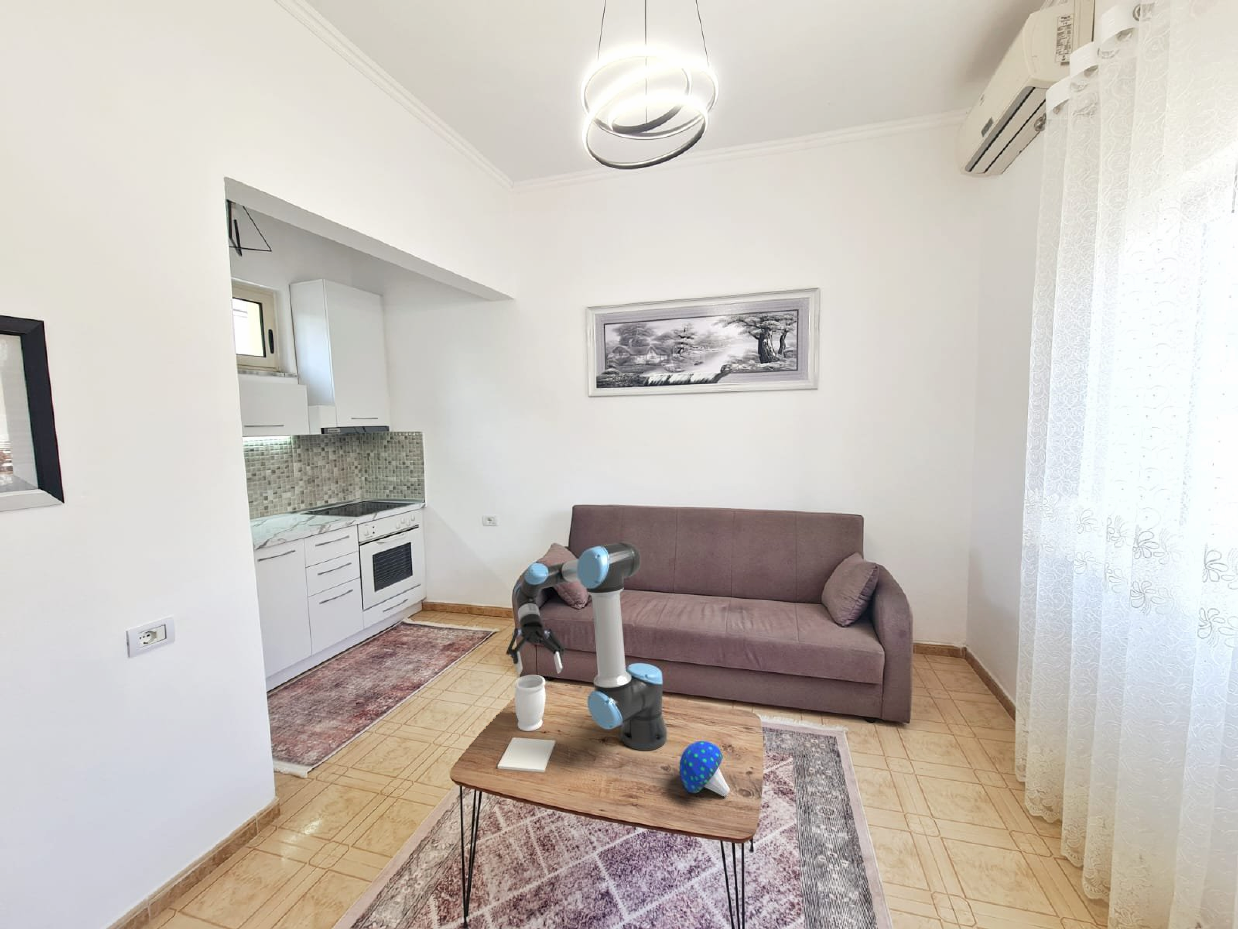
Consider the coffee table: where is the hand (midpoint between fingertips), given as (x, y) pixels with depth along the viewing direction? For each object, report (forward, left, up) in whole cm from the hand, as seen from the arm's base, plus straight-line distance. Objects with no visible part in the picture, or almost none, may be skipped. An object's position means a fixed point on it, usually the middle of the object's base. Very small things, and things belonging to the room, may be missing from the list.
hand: (540, 671), depth 159 cm
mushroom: (-51, +17, -22) cm, 59 cm away
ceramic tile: (+2, +9, -22) cm, 24 cm away
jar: (+6, -7, -22) cm, 24 cm away
